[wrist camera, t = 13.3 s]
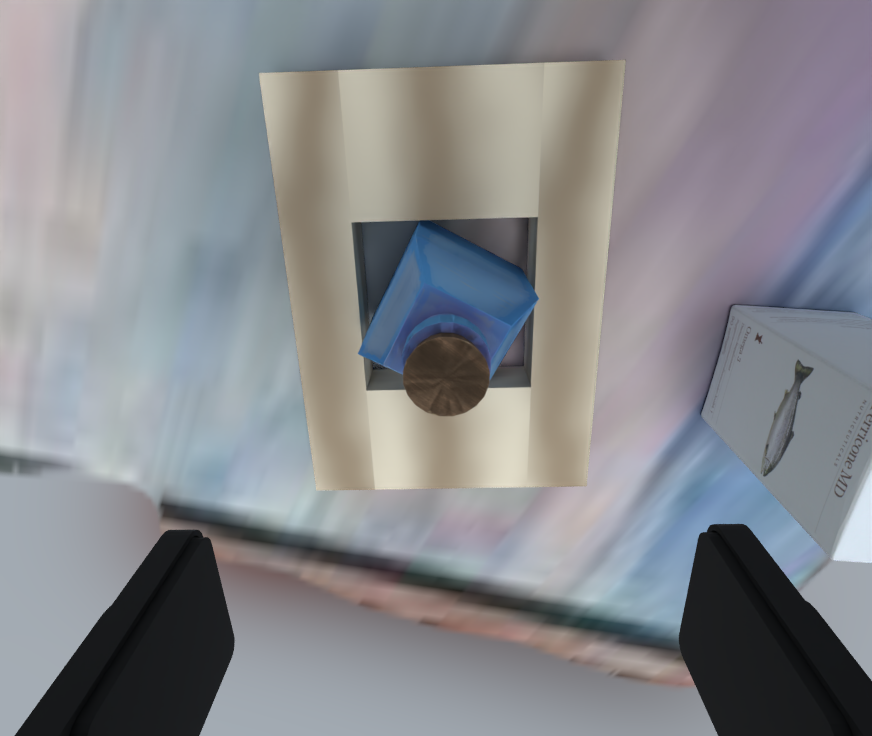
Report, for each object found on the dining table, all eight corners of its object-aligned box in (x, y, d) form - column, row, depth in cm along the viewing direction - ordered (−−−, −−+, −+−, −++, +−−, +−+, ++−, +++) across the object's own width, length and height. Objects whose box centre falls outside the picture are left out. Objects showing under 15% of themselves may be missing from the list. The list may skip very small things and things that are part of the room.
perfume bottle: (521, 268, 30) (565, 343, 19) (468, 360, 32) (480, 475, 21) (421, 216, 29) (406, 262, 18) (373, 314, 31) (334, 410, 20)
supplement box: (728, 301, 31) (902, 399, 19) (857, 310, 31) (1110, 414, 19) (694, 416, 33) (828, 564, 22) (813, 425, 34) (1010, 576, 22)
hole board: (606, 68, 26) (625, 59, 23) (575, 458, 35) (586, 486, 32) (278, 80, 27) (258, 73, 24) (326, 462, 35) (316, 490, 32)
